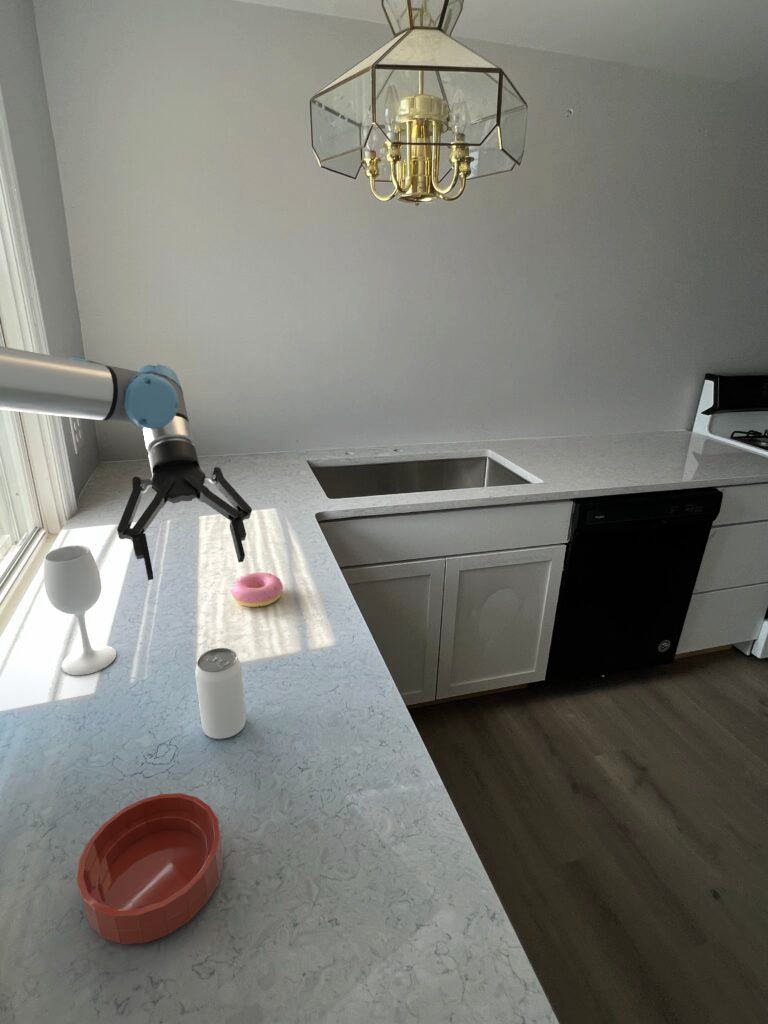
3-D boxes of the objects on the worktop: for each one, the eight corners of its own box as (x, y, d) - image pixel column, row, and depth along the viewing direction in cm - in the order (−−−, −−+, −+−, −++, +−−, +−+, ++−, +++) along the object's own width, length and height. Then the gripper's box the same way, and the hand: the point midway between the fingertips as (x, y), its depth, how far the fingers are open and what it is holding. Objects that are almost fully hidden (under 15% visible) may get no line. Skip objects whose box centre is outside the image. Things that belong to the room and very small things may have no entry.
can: (225, 705, 89) (218, 641, 84) (255, 720, 86) (249, 654, 81) (193, 730, 83) (183, 663, 79) (224, 747, 80) (216, 678, 76)
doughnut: (282, 583, 127) (281, 566, 125) (284, 607, 117) (283, 590, 115) (232, 587, 124) (231, 570, 123) (231, 612, 114) (229, 595, 113)
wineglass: (68, 682, 93) (42, 570, 86) (57, 657, 99) (32, 551, 92) (122, 662, 98) (102, 555, 91) (108, 640, 105) (89, 538, 97)
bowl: (72, 870, 63) (63, 838, 61) (195, 803, 71) (190, 774, 70) (106, 982, 53) (97, 948, 51) (244, 889, 61) (241, 857, 59)
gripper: (243, 453, 101) (272, 560, 94) (90, 470, 90) (110, 592, 83) (248, 430, 95) (280, 543, 88) (85, 446, 84) (106, 576, 77)
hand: (197, 568), depth 86 cm, fingers open, 13 cm apart
